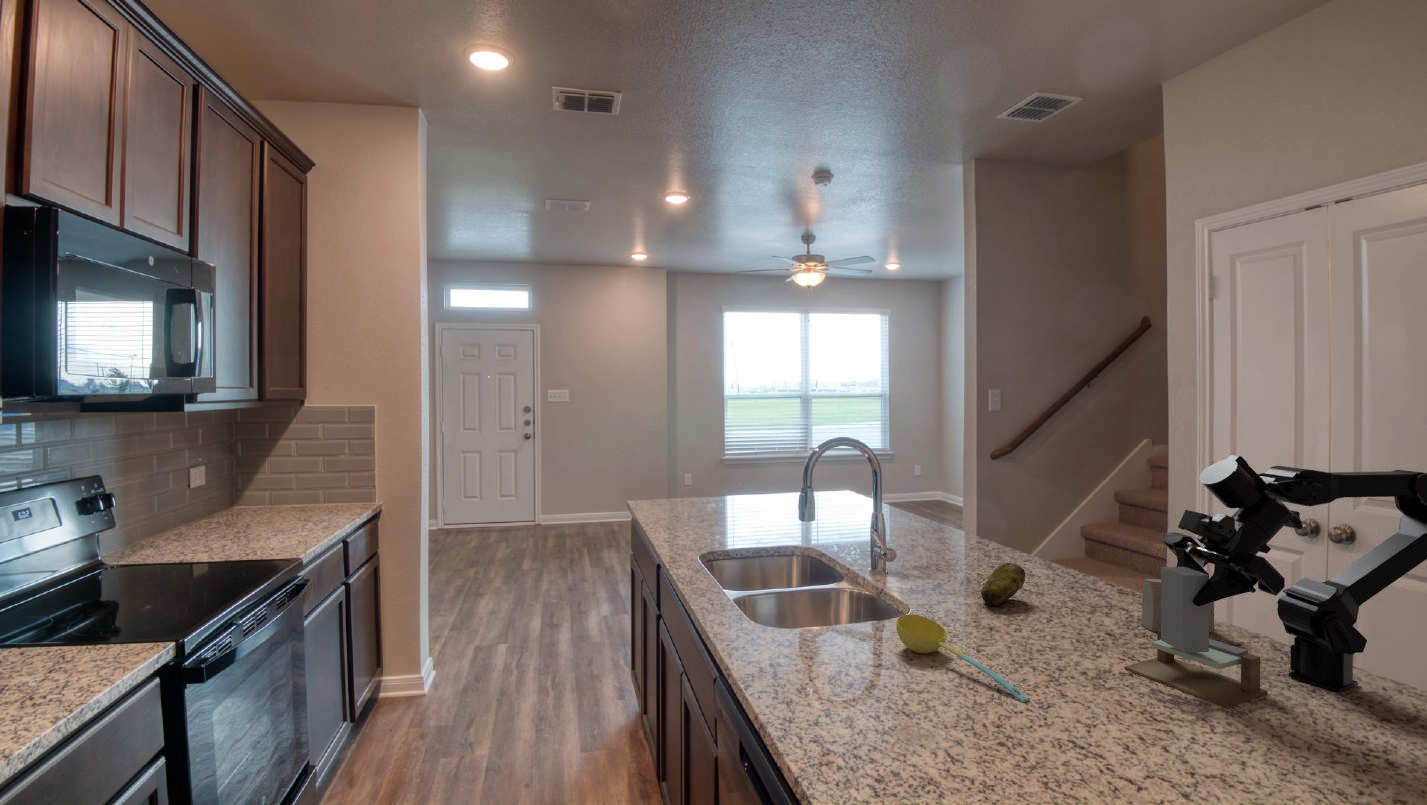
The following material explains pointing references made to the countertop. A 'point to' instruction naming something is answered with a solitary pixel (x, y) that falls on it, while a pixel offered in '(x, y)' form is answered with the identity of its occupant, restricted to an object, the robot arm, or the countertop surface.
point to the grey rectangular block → (1183, 610)
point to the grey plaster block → (1153, 606)
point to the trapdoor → (1208, 654)
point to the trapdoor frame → (1203, 678)
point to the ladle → (939, 644)
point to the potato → (1003, 583)
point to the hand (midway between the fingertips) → (1182, 598)
